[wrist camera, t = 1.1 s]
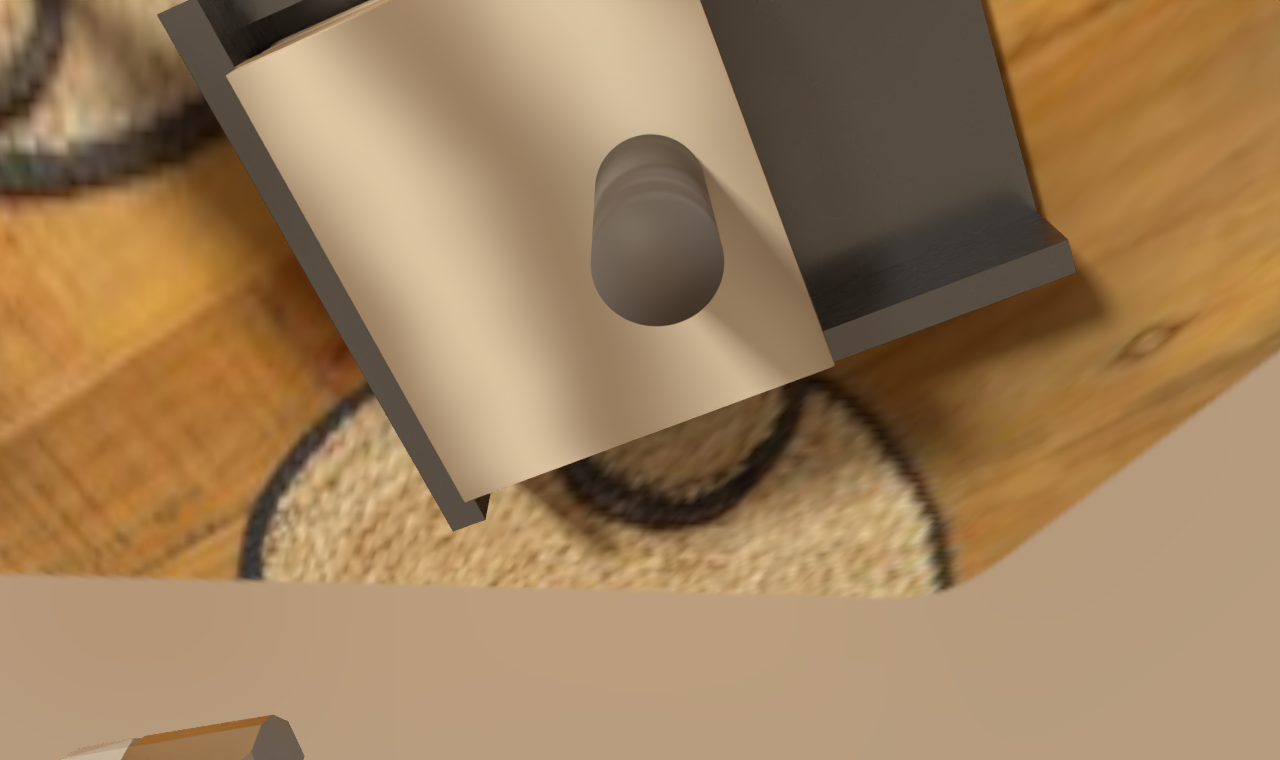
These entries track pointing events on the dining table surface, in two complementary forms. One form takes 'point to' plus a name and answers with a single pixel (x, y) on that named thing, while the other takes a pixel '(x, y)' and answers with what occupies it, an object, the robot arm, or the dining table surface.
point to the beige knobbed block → (539, 218)
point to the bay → (791, 158)
